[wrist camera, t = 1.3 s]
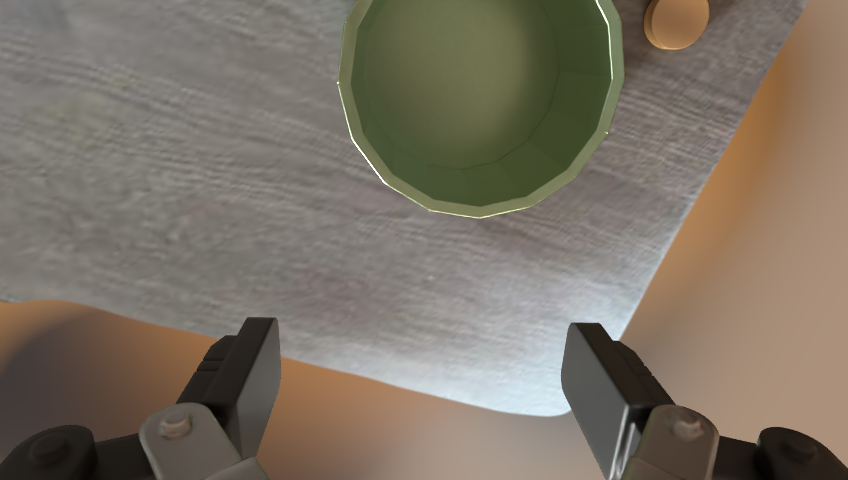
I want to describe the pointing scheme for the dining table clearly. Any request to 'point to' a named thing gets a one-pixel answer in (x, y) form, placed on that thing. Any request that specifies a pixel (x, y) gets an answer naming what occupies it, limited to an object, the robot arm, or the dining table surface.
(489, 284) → the dining table surface
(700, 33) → the spoon
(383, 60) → the tin
